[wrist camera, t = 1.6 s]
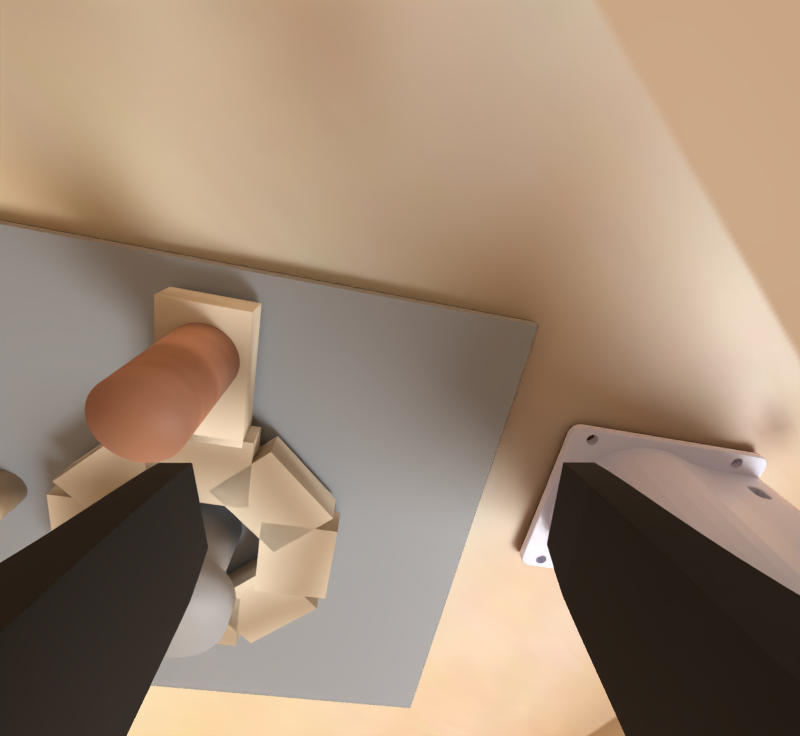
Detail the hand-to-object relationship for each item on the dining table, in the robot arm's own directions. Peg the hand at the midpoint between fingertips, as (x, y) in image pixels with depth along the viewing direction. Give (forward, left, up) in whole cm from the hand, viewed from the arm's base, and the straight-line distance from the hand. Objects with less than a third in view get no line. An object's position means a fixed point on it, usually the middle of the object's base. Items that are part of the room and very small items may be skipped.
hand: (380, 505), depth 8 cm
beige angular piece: (+6, +8, -9) cm, 13 cm away
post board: (+6, +10, -10) cm, 16 cm away
